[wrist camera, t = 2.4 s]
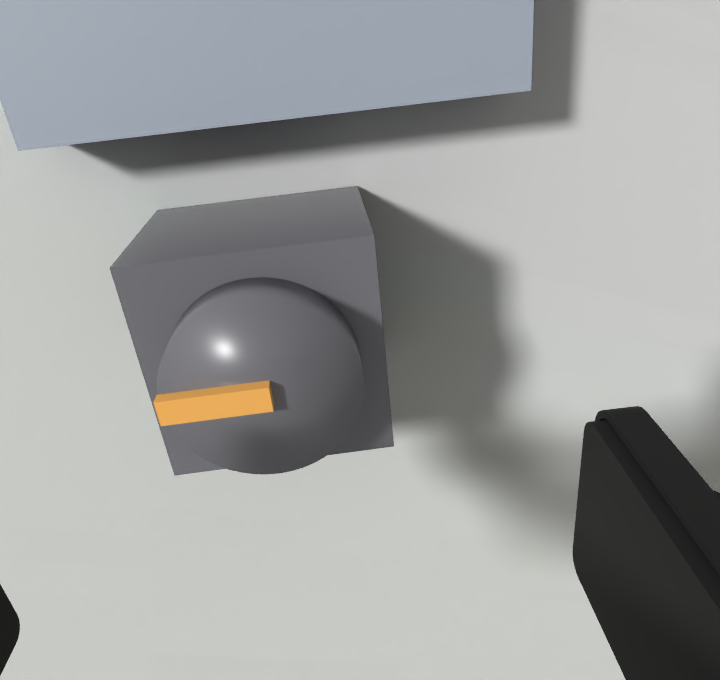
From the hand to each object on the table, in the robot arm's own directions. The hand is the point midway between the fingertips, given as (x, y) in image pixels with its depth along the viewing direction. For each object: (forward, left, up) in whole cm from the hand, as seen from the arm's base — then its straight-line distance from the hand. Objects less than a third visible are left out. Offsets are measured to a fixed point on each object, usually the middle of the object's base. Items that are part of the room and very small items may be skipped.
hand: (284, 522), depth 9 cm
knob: (0, +1, -10) cm, 10 cm away
